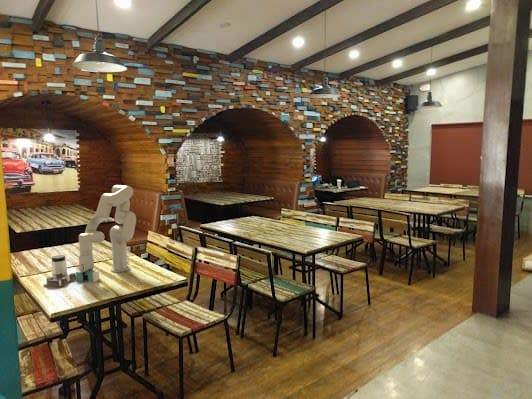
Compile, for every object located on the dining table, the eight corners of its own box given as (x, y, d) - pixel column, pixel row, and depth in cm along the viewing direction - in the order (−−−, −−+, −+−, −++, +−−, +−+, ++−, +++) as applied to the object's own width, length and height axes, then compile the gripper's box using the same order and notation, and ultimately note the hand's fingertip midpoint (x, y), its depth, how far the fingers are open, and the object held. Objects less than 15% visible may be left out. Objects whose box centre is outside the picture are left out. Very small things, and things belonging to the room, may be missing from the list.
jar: (58, 271, 279) (56, 254, 277) (69, 271, 278) (67, 254, 277) (50, 275, 270) (48, 258, 268) (61, 275, 269) (60, 258, 268)
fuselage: (76, 281, 259) (75, 272, 258) (80, 278, 264) (80, 269, 263) (95, 281, 257) (94, 272, 256) (99, 279, 262) (98, 270, 261)
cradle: (62, 276, 267) (61, 270, 266) (78, 277, 266) (78, 271, 265) (43, 286, 248) (42, 280, 248) (61, 287, 247) (61, 280, 246)
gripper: (87, 248, 267) (89, 274, 269) (72, 255, 250) (75, 283, 252) (98, 249, 266) (100, 275, 268) (84, 256, 249) (86, 283, 251)
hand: (87, 278), depth 260 cm, fingers closed on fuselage, 5 cm apart
